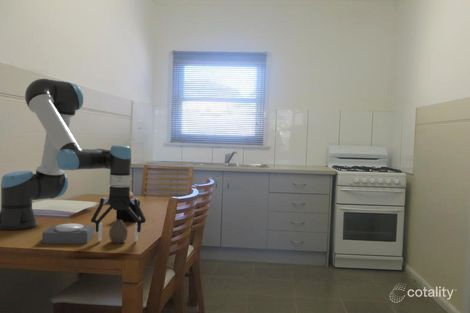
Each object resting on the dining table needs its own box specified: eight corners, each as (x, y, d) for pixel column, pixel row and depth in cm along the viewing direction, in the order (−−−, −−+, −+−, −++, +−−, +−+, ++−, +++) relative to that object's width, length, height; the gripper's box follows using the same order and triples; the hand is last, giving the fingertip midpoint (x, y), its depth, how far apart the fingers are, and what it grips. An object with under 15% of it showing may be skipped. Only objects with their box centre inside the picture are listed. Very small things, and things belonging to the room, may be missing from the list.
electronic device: (135, 222, 181) (136, 201, 180) (116, 220, 183) (116, 200, 182) (139, 220, 185) (139, 200, 184) (120, 219, 187) (121, 198, 186)
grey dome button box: (42, 243, 141) (42, 230, 141) (52, 234, 153) (52, 222, 153) (87, 243, 144) (87, 230, 144) (94, 235, 156) (94, 223, 155)
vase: (115, 239, 152) (116, 217, 151) (130, 241, 150) (131, 219, 149) (105, 243, 145) (105, 220, 145) (120, 245, 143) (121, 222, 143)
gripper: (83, 186, 141) (82, 242, 142) (152, 188, 145) (150, 243, 146) (88, 183, 148) (86, 237, 149) (153, 185, 152) (151, 237, 153)
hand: (118, 240), depth 147 cm, fingers open, 13 cm apart
